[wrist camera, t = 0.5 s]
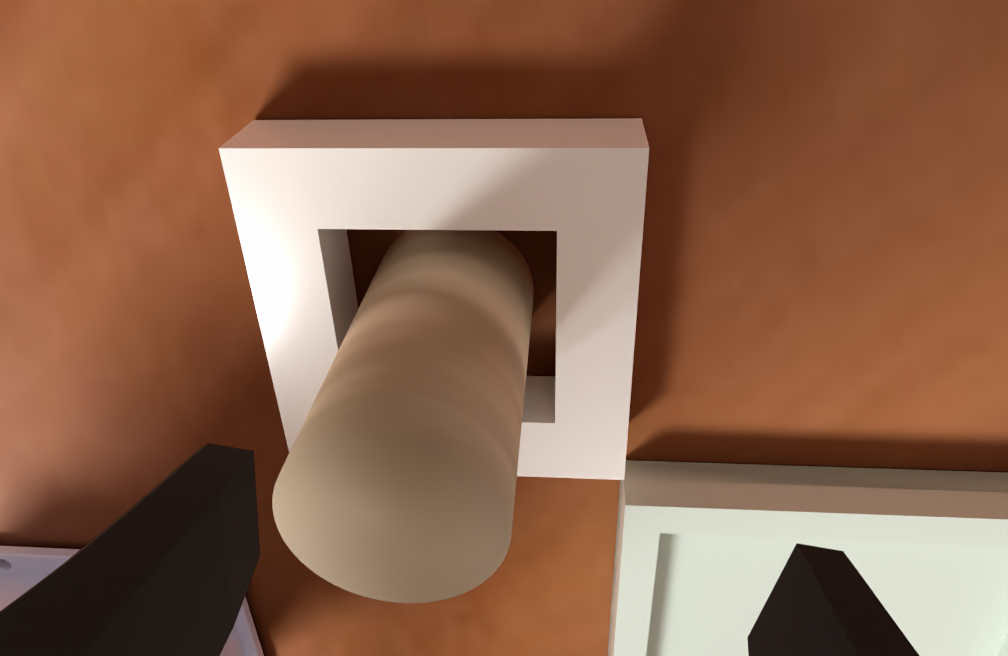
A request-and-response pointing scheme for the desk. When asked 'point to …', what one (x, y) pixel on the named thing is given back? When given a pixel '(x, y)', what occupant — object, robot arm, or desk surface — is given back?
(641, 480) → the tray
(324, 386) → the peg
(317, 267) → the pin holder
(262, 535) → the desk surface
